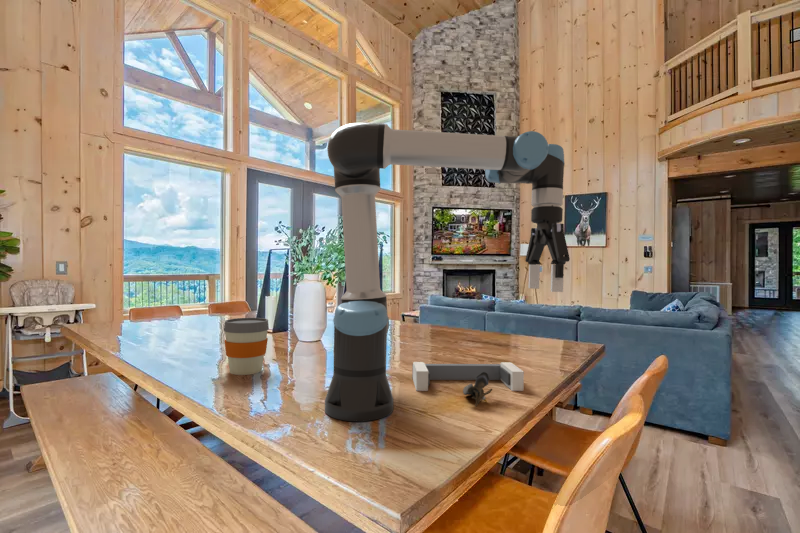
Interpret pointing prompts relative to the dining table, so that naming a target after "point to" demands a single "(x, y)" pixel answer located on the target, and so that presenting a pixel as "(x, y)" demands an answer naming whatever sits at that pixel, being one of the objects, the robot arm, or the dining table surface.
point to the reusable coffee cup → (245, 344)
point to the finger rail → (467, 373)
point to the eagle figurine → (478, 388)
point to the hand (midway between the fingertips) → (544, 290)
